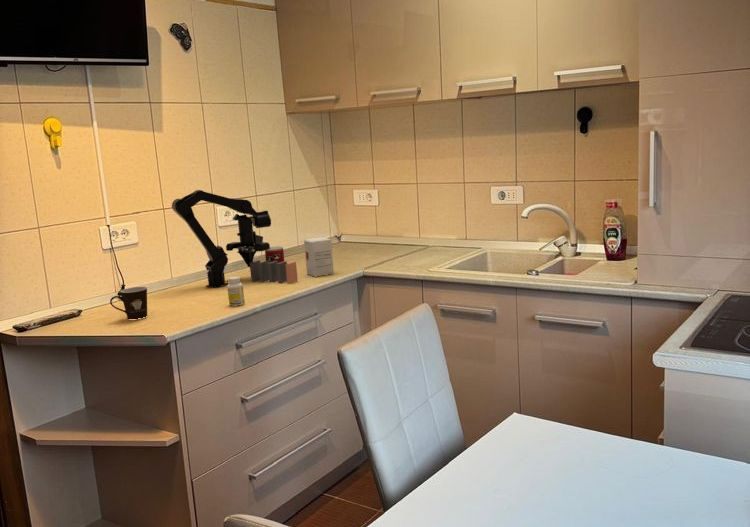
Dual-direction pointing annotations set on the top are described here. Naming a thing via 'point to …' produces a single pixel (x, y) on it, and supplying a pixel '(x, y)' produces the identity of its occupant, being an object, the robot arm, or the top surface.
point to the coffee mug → (133, 302)
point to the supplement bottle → (235, 291)
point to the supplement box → (318, 256)
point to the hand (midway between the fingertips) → (249, 267)
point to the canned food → (274, 254)
